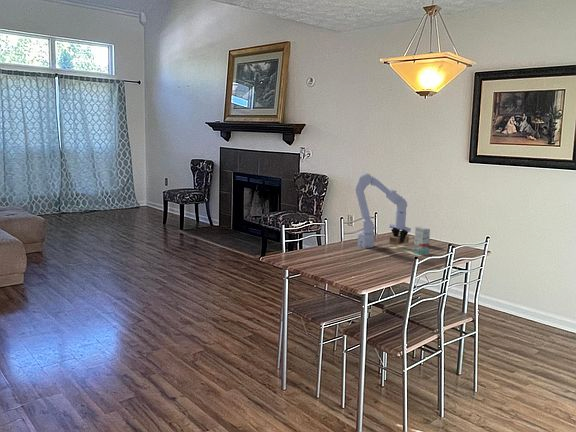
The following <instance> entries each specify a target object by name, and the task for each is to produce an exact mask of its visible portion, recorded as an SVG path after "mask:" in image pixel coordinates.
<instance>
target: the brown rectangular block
mask: <svg viewBox="0 0 576 432" xmlns="http://www.w3.org/2000/svg"><path fill="white" fill-rule="evenodd" d="M409 239H410V236H409V235H406V237H405V240H404V242H403V243H401V242H400V235H398V236H389V245H393V246H399V245H403V244H409Z"/></svg>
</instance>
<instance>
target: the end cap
mask: <svg viewBox="0 0 576 432" xmlns="http://www.w3.org/2000/svg"><path fill="white" fill-rule="evenodd" d="M413 248H414V254H418V255H422V256H425V255H424V254H427V255H430V254H429V252H430V248H429V247H421V248H416V247H413Z"/></svg>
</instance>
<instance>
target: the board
mask: <svg viewBox="0 0 576 432" xmlns="http://www.w3.org/2000/svg"><path fill="white" fill-rule="evenodd" d="M414 248H415V247H411V246H407V245H403V244H400V245H394V246H391V247H390V246H389V247H388V249H390V250H394V251H398V252H402V253H405V254H410V255H413V256H416V257H421V256H426V255H430V254H431V255H432V254H433V252H430V251H429V254H424V255H418V254H414Z"/></svg>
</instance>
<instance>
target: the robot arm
mask: <svg viewBox="0 0 576 432" xmlns="http://www.w3.org/2000/svg"><path fill="white" fill-rule="evenodd" d="M369 185H370V186H374V187H376V188H377V189H379V191H382V192H383V193H384V194H385V197H386V198H387V199H388V200H389V201H390V202H391V203H393V205H396V212H395V222H394V223H395V224H393V223H391V224H389V229H391V232H392V235H393V236H392V237H394V236H400V242H401V243H403V242H404V240H405V237H406V236H408V233H410V232H411V231H412V228H409V227H407V226H406V221H407V207H408V202H407V201H406V199H405V198H404V197H403V196H401V195H400V194H399V193H397V190H394V189H389V188H388V187H387V186H386V185H385V184H383V183H382V182H381V180H379V179H378V178H376V177H375V176H373V175H371V174H370V173H368V172H366V173H365V172H364V173H363V174H362V175H360V177H359V178H358V181H357V184H356V187H355V193H356V198H357V201H358V206H359V210H360V214H361V217H362V223H363V225H362V226H363V227H362V229H363V230H362V231H361V233H360V234H358V237H357V247H359V248H363V249H367V248H373V247H375V232H374V230H375V225H374V222H373V221H372V217H371V215H370V212H369V207H368V203H367V200H366V195H365V190H366V188H367V187H368V186H369Z"/></svg>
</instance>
